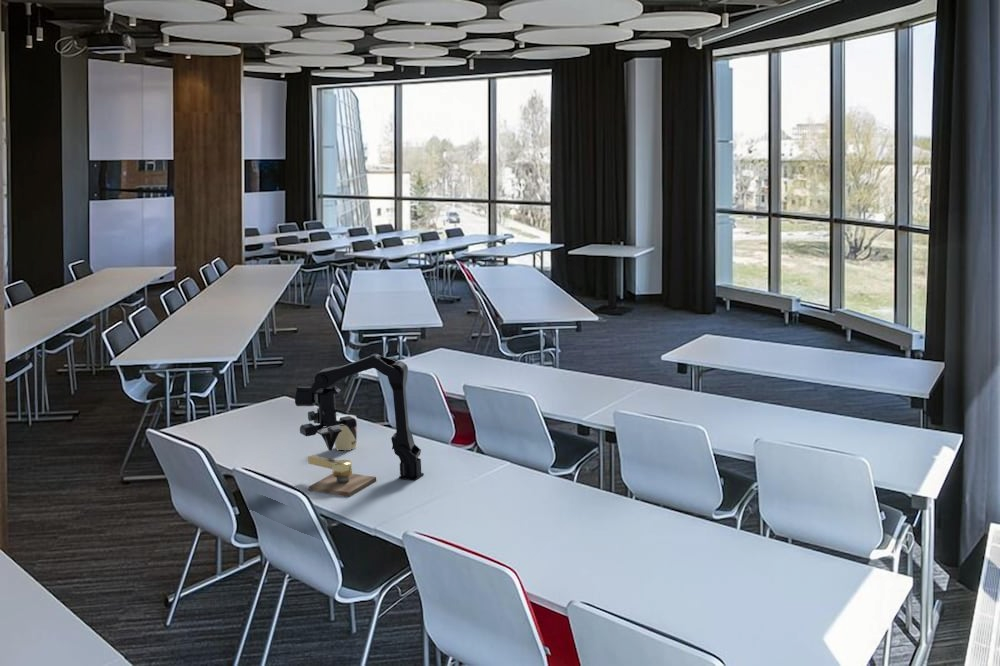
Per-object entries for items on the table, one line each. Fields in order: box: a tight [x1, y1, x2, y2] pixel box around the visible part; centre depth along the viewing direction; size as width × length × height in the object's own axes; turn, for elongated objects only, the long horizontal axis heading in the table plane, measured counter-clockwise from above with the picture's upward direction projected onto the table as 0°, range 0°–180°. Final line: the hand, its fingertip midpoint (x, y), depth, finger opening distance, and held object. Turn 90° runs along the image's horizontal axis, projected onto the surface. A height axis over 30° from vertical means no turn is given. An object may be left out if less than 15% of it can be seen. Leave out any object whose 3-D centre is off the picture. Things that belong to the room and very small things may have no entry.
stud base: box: [308, 473, 377, 498], centre depth 306 cm, size 16×16×4 cm
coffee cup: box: [334, 414, 358, 451], centre depth 347 cm, size 9×9×12 cm
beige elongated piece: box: [307, 454, 353, 478], centre depth 309 cm, size 18×6×4 cm, turn 55°
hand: (330, 450), depth 316 cm, fingers closed
